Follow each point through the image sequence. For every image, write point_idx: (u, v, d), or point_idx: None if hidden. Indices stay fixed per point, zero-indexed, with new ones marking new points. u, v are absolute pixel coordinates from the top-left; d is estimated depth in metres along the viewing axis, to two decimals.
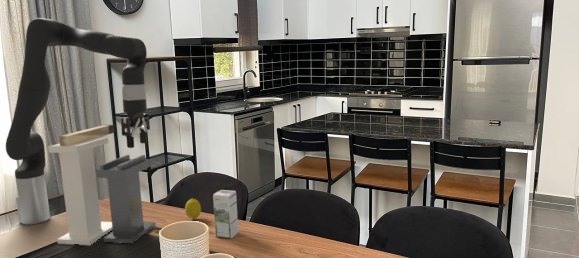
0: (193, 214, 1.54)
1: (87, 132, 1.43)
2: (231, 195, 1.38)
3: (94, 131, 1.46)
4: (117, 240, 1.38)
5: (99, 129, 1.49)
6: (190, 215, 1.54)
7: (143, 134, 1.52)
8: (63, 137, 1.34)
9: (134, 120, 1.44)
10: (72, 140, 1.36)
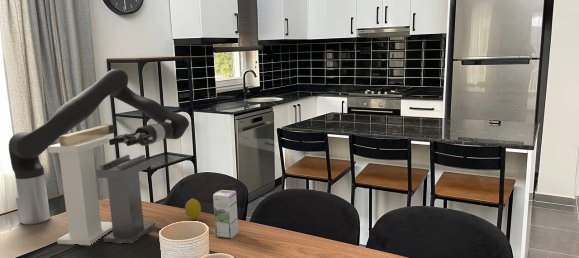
0: (193, 214, 1.54)
1: (87, 132, 1.43)
2: (231, 195, 1.38)
3: (94, 131, 1.46)
4: (117, 240, 1.38)
5: (99, 129, 1.49)
6: (190, 215, 1.54)
7: (117, 141, 1.61)
8: (63, 137, 1.34)
9: None
10: (72, 140, 1.36)
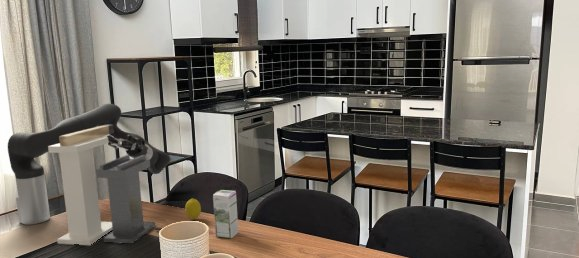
0: (193, 214, 1.54)
1: (87, 132, 1.43)
2: (231, 195, 1.38)
3: (94, 131, 1.46)
4: (117, 240, 1.38)
5: (99, 129, 1.49)
6: (190, 215, 1.54)
7: (112, 141, 1.66)
8: (63, 137, 1.34)
9: (136, 147, 1.69)
10: (72, 140, 1.36)
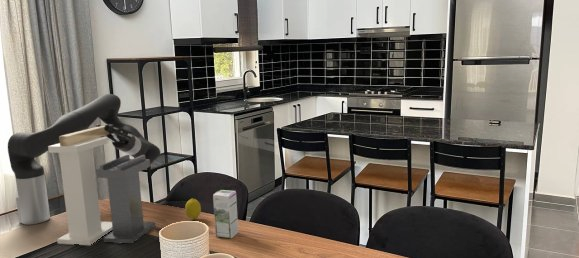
0: (193, 214, 1.54)
1: (87, 132, 1.43)
2: (231, 195, 1.38)
3: (94, 131, 1.46)
4: (117, 240, 1.38)
5: (99, 129, 1.49)
6: (190, 215, 1.54)
7: None
8: (63, 137, 1.34)
9: (121, 138, 1.60)
10: (72, 140, 1.36)
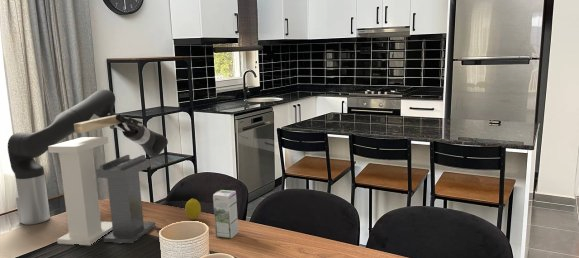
0: (193, 214, 1.54)
1: (100, 120, 1.49)
2: (231, 195, 1.38)
3: (106, 120, 1.53)
4: (117, 240, 1.38)
5: (111, 118, 1.56)
6: (190, 215, 1.54)
7: None
8: (78, 125, 1.41)
9: (131, 128, 1.67)
10: (86, 127, 1.43)
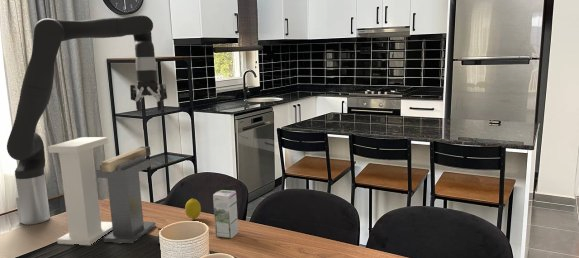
0: (193, 214, 1.54)
1: (127, 156, 1.41)
2: (231, 195, 1.38)
3: (133, 155, 1.44)
4: (117, 240, 1.38)
5: (137, 152, 1.47)
6: (190, 215, 1.54)
7: (140, 102, 1.70)
8: (105, 163, 1.32)
9: None
10: (114, 165, 1.34)
